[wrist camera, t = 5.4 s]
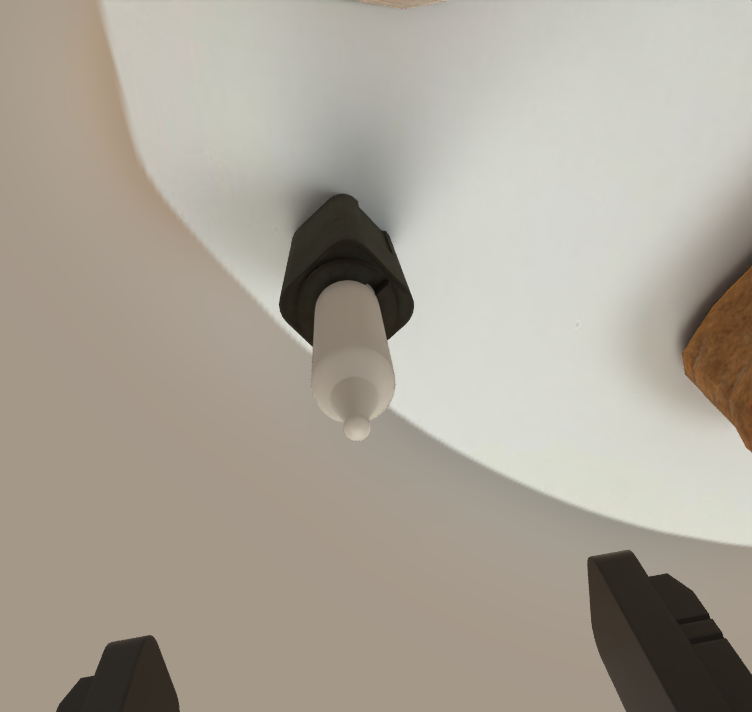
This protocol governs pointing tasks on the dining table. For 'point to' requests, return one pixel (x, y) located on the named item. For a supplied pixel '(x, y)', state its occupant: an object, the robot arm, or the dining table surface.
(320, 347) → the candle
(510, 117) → the dining table surface
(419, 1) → the bowl
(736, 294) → the bread
